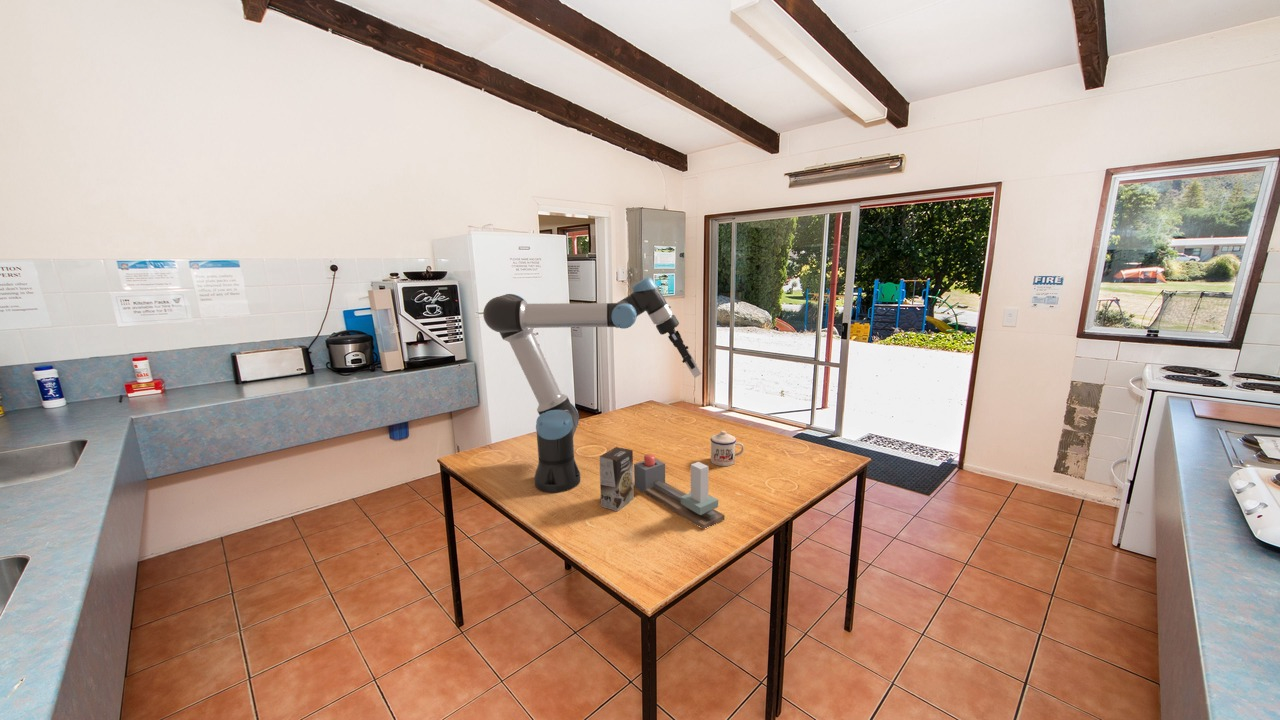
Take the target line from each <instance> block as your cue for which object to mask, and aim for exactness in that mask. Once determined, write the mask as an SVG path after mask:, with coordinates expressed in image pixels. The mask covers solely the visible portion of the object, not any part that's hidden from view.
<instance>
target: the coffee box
mask: <svg viewBox="0 0 1280 720" xmlns="http://www.w3.org/2000/svg"><path fill="white" fill-rule="evenodd" d="M633 454H634V452H633V449H628V448H623V447H618V446H616V447H614V448H612V449H611V450H608V451H606V452H605V453H603V454H602V455H599V480H600V481H599V484H600V489H599V490H600V506H601V507H602V508H606V509H609V510H611V511H615V512H618V511H620V510H621V509H622V508H624V507H625V506H626V505H628V504H629V503H630V502H632V501H633V500H634V460H633V459H634V458H633V457H634V455H633Z"/></svg>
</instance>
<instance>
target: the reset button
mask: <svg viewBox="0 0 1280 720" xmlns="http://www.w3.org/2000/svg"><path fill="white" fill-rule="evenodd" d="M643 457H644V458H643V461H644V465H645V466H647V467H648V468H649V467H652V466H654V465H655V459H656V455H654V454H650V453H649V454H645V455H643Z"/></svg>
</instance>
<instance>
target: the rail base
mask: <svg viewBox="0 0 1280 720" xmlns="http://www.w3.org/2000/svg"><path fill="white" fill-rule="evenodd" d="M686 494H687V493H685V492H684V491H682V490H680V489H678V488H677V487H674V486H673V485H671V484H669V483H667V481H665V483H661V482H660V481H658V482H655V483H654V487H651V488H649V489H646V494H645V495H647V496H648V497H650V498H651V499H653V500H655V501H656V502H658V503H660V504H662V505H663V506H665V507H666V508H668V510H669V509H670V510H671V511H673V512H674V513H676V514H677V515H679V516H681V517H682V518H684V519H685V518H686V520H687V521H689V522H690V521H691V522H690V523H692V524H693V525H695V524H696V525H695V526H697V525H698V526H700V527H702V528H703V529H705V528H707V527H709V526H711V527H713V526H715V525H717V524H719V523H721V522H720V521H722V520H724V521H725V514H723V513H721V512H720V511H718V510H716V509H713V510H711V511H708V512H706V513H704V514H702V515H699V514H697V513H696V512H694V511H692V510H691V509H689V508H687V507H685V506H684V505H682V504H681V496H684V495H686ZM718 522H719V523H718ZM722 522H723V521H722ZM716 523H717V524H716ZM714 524H715V525H714ZM712 525H713V526H712ZM698 526H697V527H698ZM700 527H699V528H700ZM702 528H701V529H702ZM709 528H710V527H709ZM703 529H702V530H703ZM707 529H708V528H707ZM705 530H706V529H705Z"/></svg>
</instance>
